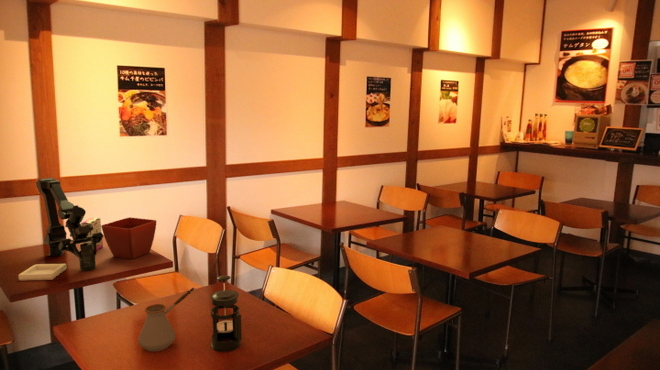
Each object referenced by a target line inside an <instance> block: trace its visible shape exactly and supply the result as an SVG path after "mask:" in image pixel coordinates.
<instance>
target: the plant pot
mask: <svg viewBox="0 0 660 370" xmlns="http://www.w3.org/2000/svg"><path fill="white" fill-rule="evenodd" d="M156 229H157V220H156V219H146V218H139V217H124V218H122V219H118V220H115V221H112V222H108V223H105V224H101V232H102V234H103V238H104V239H105V241H106V244H107V247H108V249H109V250H110V252H111V254H112V255H113V257H117V258H123V259H126V260H127V259H129V260H133V259H136V258H139V257H141V256H144V255H147V254H149V253H151V249H152V246H153V243H154V239H155V236H156V235H155V234H156Z"/></svg>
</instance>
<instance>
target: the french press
mask: <svg viewBox="0 0 660 370" xmlns="http://www.w3.org/2000/svg"><path fill="white" fill-rule="evenodd" d="M231 278H232V277H231V275H227V274H225V275H224V274H223V275H220V276H218V277H217V278H216V279H217V280H218V281H221V282H222V283H223V289H220V290H217V291H214V292H212V293H211V294H210V296H209V298H210V300H211V304H212V305H213V307H212V308H211V309H210V316H211V318H212V326H211V329H212V332H213V333H212V334H211V344H210V345H211V346H210V347H211V349H212V350H214V351H216V352H221V353H226V352H232V351H234V350H237V349H238V348H239V347H241V345H242V341H243V335H242V334H243V333H242V330H243V329H242V314H241V313H240V307H239V306H238V305H237V303H238V301H239V300H238V299H239V296H240V294H239V292H238V291H236V290H233V289H226V285H225V284H226V281H228V280H230V279H231ZM220 309H223V310H224V314H223V315H221V314H220V315H219V310H220ZM226 309H232V311H233V312H232V313H230V314H227V313H226V311H227V310H226ZM230 319H231V320H230ZM222 340H226V341H222Z"/></svg>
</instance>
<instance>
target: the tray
mask: <svg viewBox="0 0 660 370" xmlns="http://www.w3.org/2000/svg"><path fill="white" fill-rule="evenodd" d="M67 269H68V268H67V263H39V264H36V263H35V264H33V265H32V266H30V267H29V268H27V269H25V270H24V271H22V272H21V273H19V274H18V281H44V280H45V281H47V280H51V281H52V280H54V279H56V278H57V277H58V276H60V273H61V274H62V273H63V272H64V271H66V270H67ZM56 276H57V277H56Z"/></svg>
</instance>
